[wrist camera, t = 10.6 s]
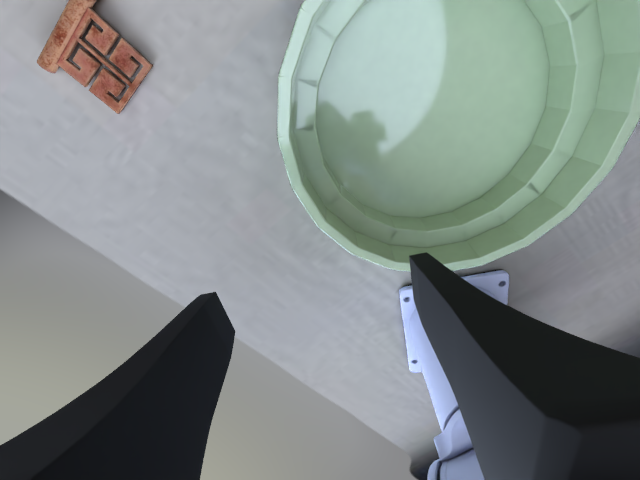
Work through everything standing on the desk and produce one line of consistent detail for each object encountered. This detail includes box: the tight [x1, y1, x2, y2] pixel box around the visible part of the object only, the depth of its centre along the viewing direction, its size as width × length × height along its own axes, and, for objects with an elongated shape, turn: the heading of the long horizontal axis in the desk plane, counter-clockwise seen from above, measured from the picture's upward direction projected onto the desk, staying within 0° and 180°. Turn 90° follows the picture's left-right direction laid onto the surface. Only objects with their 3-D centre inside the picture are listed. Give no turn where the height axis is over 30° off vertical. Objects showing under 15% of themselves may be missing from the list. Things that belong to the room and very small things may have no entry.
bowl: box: [277, 0, 640, 271], centre depth 16 cm, size 16×16×4 cm
